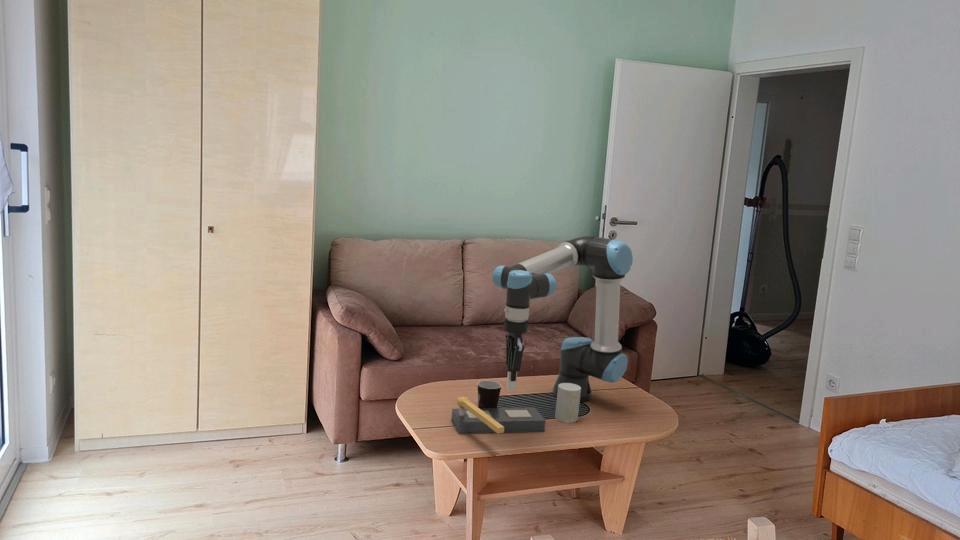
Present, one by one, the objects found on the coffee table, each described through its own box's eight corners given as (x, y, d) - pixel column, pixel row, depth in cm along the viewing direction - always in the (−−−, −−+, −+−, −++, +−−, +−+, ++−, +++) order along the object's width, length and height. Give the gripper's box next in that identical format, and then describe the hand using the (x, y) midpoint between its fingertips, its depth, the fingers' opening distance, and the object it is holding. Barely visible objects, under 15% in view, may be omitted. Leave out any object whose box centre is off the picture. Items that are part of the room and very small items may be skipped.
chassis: (533, 417, 260) (535, 398, 259) (544, 431, 249) (546, 410, 248) (451, 419, 253) (453, 399, 252) (458, 433, 241) (460, 412, 240)
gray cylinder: (563, 424, 257) (566, 391, 255) (550, 415, 264) (553, 383, 262) (582, 421, 261) (585, 389, 259) (569, 413, 268) (572, 382, 266)
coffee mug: (496, 416, 259) (499, 390, 257) (473, 413, 260) (475, 386, 258) (502, 405, 270) (504, 380, 268) (479, 402, 271) (481, 376, 270)
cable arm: (455, 403, 247) (455, 396, 246) (464, 401, 249) (465, 395, 248) (495, 434, 224) (496, 427, 223) (505, 432, 225) (506, 426, 225)
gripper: (499, 313, 237) (494, 382, 242) (511, 324, 225) (505, 397, 230) (521, 313, 239) (516, 381, 244) (534, 324, 227) (528, 396, 232)
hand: (511, 389), depth 237 cm, fingers closed
